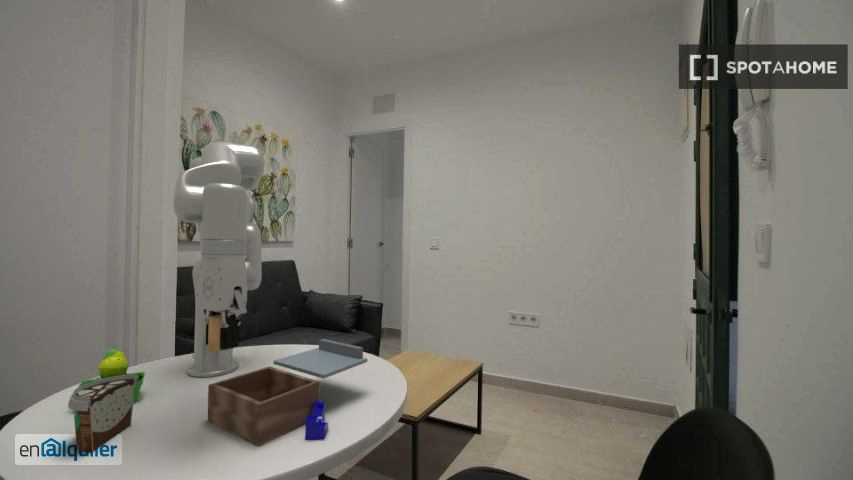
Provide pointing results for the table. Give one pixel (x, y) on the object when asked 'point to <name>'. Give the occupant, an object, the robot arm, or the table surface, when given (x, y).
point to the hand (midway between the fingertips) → (221, 344)
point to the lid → (324, 359)
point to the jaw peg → (215, 332)
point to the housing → (262, 404)
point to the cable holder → (316, 423)
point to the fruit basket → (116, 370)
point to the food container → (102, 410)
